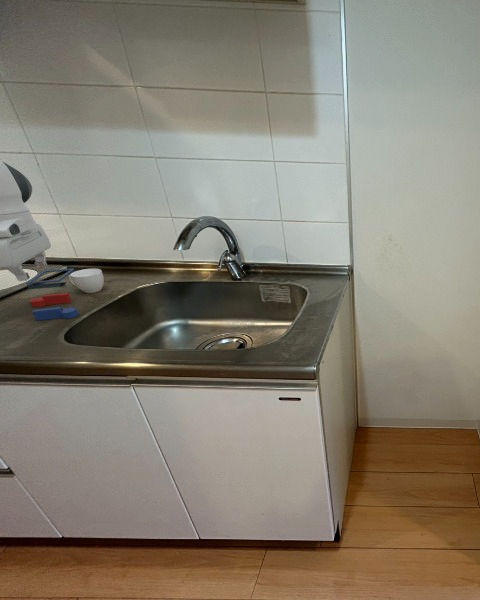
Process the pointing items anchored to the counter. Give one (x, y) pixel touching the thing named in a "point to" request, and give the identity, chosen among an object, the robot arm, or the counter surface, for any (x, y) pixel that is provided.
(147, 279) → the counter surface
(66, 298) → the red stepped block
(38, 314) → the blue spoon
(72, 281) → the cup
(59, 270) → the dark blue open frame
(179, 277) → the counter surface
